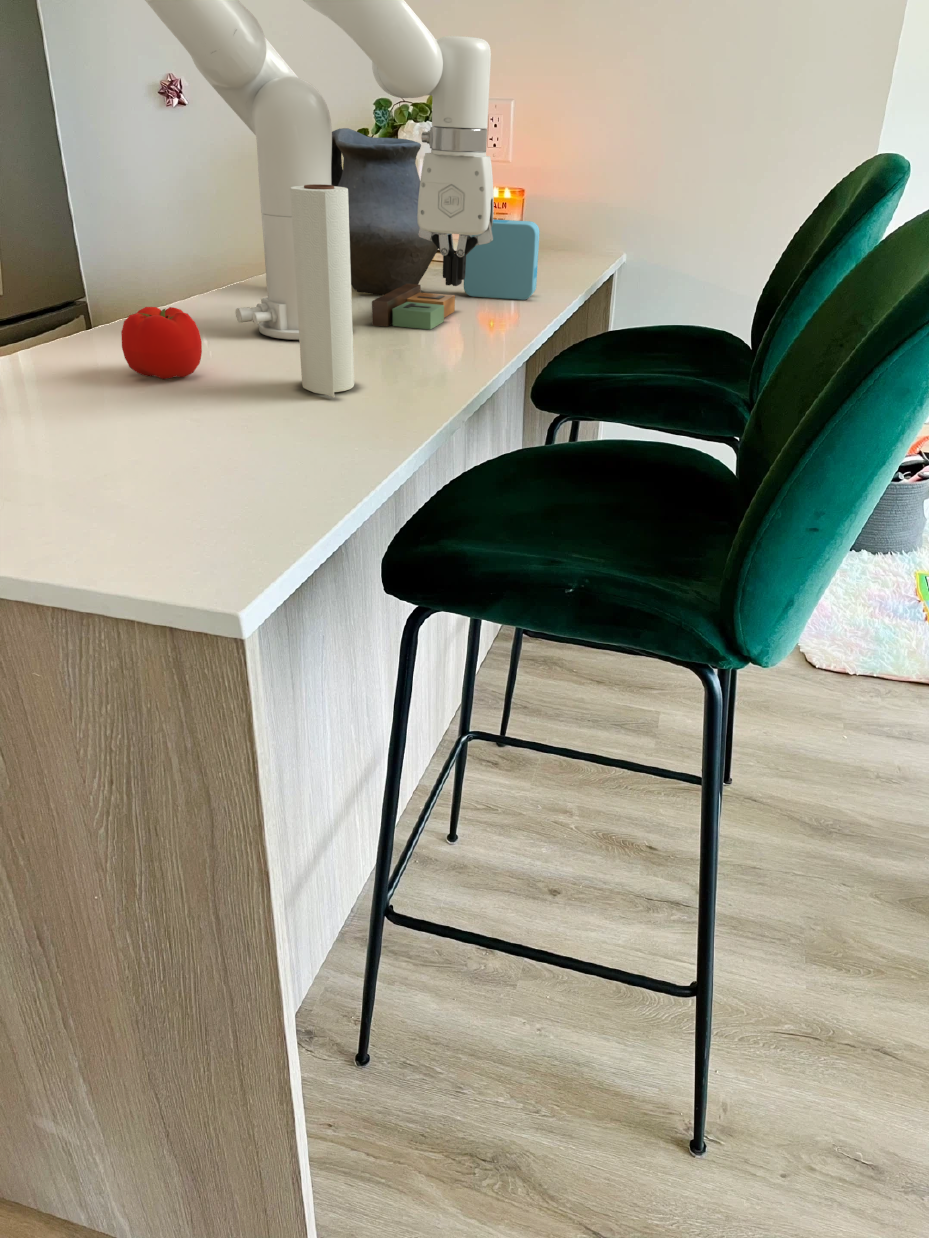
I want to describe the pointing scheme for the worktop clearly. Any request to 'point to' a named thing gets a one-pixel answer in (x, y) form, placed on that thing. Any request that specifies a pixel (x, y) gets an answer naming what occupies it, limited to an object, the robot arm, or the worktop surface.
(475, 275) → the blue rounded slab
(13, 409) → the worktop surface
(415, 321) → the sage letter tile
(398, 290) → the walnut ledge
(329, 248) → the paper towel roll
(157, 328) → the tomato
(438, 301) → the oak letter tile
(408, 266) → the pitcher
